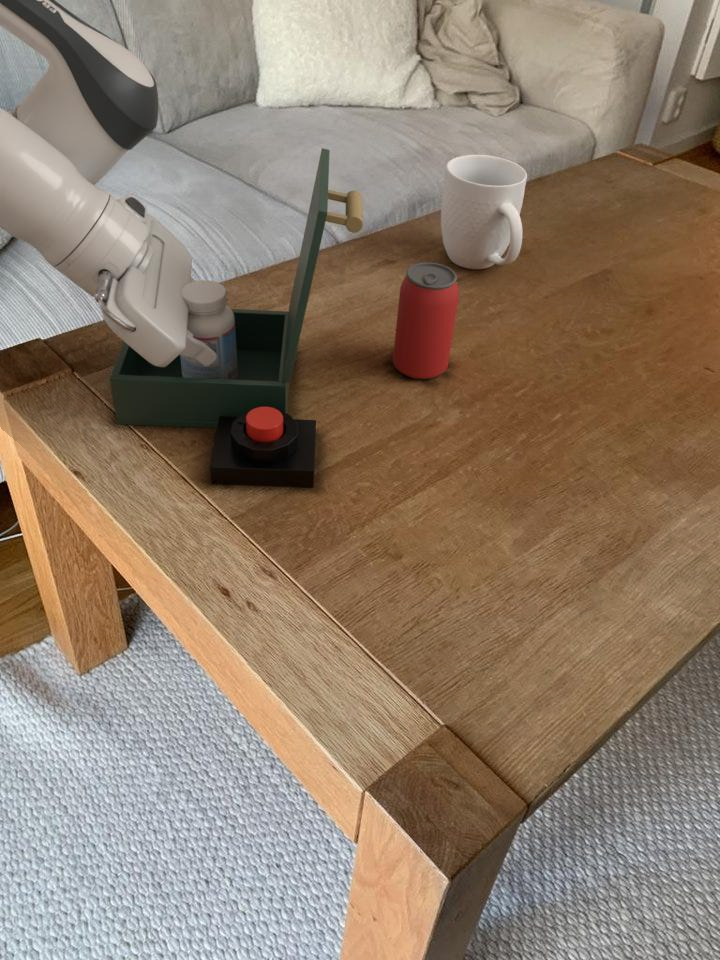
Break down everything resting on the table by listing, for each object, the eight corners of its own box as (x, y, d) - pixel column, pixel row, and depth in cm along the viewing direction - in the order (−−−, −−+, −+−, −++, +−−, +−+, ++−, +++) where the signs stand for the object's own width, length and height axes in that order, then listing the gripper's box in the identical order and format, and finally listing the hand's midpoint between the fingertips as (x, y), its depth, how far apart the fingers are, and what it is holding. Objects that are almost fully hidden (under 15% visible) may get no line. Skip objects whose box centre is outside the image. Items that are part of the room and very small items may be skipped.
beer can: (386, 375, 95) (396, 283, 87) (398, 346, 100) (408, 255, 92) (442, 386, 94) (456, 293, 86) (451, 356, 99) (465, 265, 91)
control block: (211, 484, 80) (208, 452, 77) (220, 432, 86) (218, 401, 83) (313, 487, 80) (314, 456, 78) (315, 436, 86) (316, 405, 84)
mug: (541, 282, 114) (562, 191, 106) (475, 296, 110) (491, 203, 102) (482, 237, 124) (497, 150, 115) (419, 248, 120) (430, 159, 111)
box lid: (318, 210, 70) (370, 222, 71) (321, 147, 81) (366, 158, 82) (281, 381, 82) (326, 390, 83) (288, 307, 93) (328, 315, 94)
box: (117, 424, 86) (109, 378, 82) (142, 347, 96) (136, 304, 93) (285, 430, 87) (285, 386, 83) (292, 354, 97) (292, 311, 94)
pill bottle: (217, 359, 94) (211, 270, 87) (248, 384, 91) (245, 294, 83) (172, 377, 91) (161, 286, 84) (202, 404, 88) (194, 312, 80)
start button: (244, 442, 79) (244, 428, 78) (248, 419, 82) (247, 405, 81) (282, 443, 79) (282, 429, 78) (284, 420, 82) (284, 407, 81)
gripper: (115, 280, 71) (234, 373, 78) (135, 187, 86) (233, 273, 93) (70, 325, 73) (190, 412, 81) (97, 227, 88) (196, 308, 96)
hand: (213, 336), depth 87 cm, fingers open, 7 cm apart
